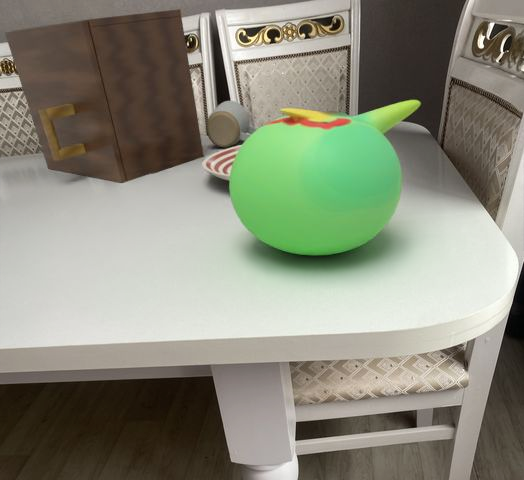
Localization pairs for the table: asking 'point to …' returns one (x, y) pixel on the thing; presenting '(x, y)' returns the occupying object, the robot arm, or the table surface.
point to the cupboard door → (67, 99)
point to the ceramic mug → (229, 124)
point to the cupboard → (147, 89)
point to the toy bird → (319, 179)
